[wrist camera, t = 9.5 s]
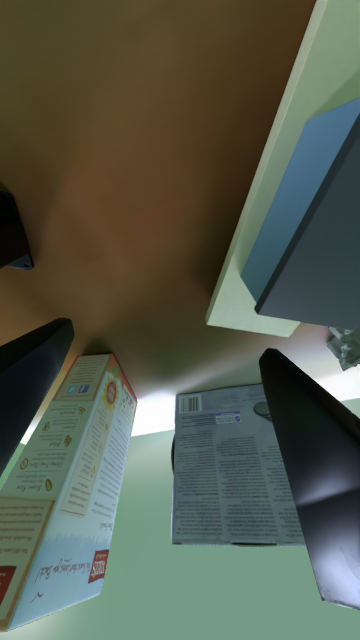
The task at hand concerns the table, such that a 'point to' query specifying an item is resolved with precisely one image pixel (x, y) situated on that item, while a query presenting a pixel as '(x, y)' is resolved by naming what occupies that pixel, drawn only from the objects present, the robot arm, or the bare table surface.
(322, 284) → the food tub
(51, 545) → the cracker box
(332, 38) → the cream lidded box
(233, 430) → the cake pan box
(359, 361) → the egg carton
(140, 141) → the table surface
